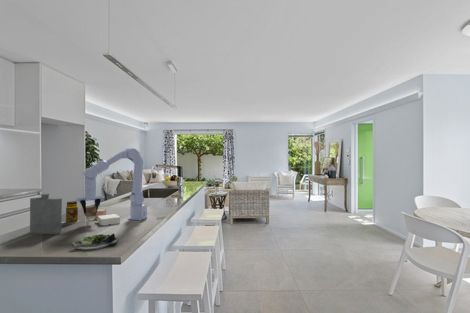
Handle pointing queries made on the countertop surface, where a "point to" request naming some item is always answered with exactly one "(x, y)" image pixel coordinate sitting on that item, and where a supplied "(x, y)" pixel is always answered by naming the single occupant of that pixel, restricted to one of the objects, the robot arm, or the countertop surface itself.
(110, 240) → the salad plate
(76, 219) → the condiment
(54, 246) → the countertop surface
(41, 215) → the hip flask
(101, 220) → the base block
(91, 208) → the walnut cube
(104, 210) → the terracotta block
